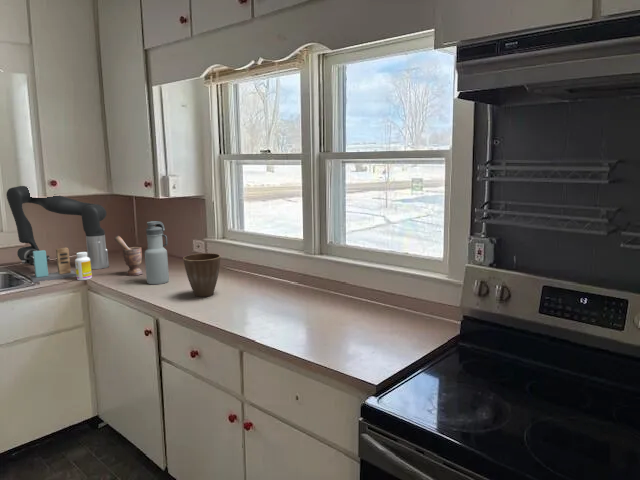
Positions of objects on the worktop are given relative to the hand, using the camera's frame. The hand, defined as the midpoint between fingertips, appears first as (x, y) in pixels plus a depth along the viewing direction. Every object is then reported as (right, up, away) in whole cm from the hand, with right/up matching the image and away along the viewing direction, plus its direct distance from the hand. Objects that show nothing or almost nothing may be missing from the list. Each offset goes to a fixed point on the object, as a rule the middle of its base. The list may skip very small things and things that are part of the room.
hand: (38, 262), depth 250 cm
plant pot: (+90, -12, -39) cm, 99 cm away
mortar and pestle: (+45, -7, +1) cm, 46 cm away
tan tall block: (+12, -5, +2) cm, 13 cm away
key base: (+8, -8, -1) cm, 11 cm away
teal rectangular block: (+4, -6, -4) cm, 8 cm away
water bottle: (+63, -9, -15) cm, 66 cm away
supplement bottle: (+25, -8, -5) cm, 27 cm away
